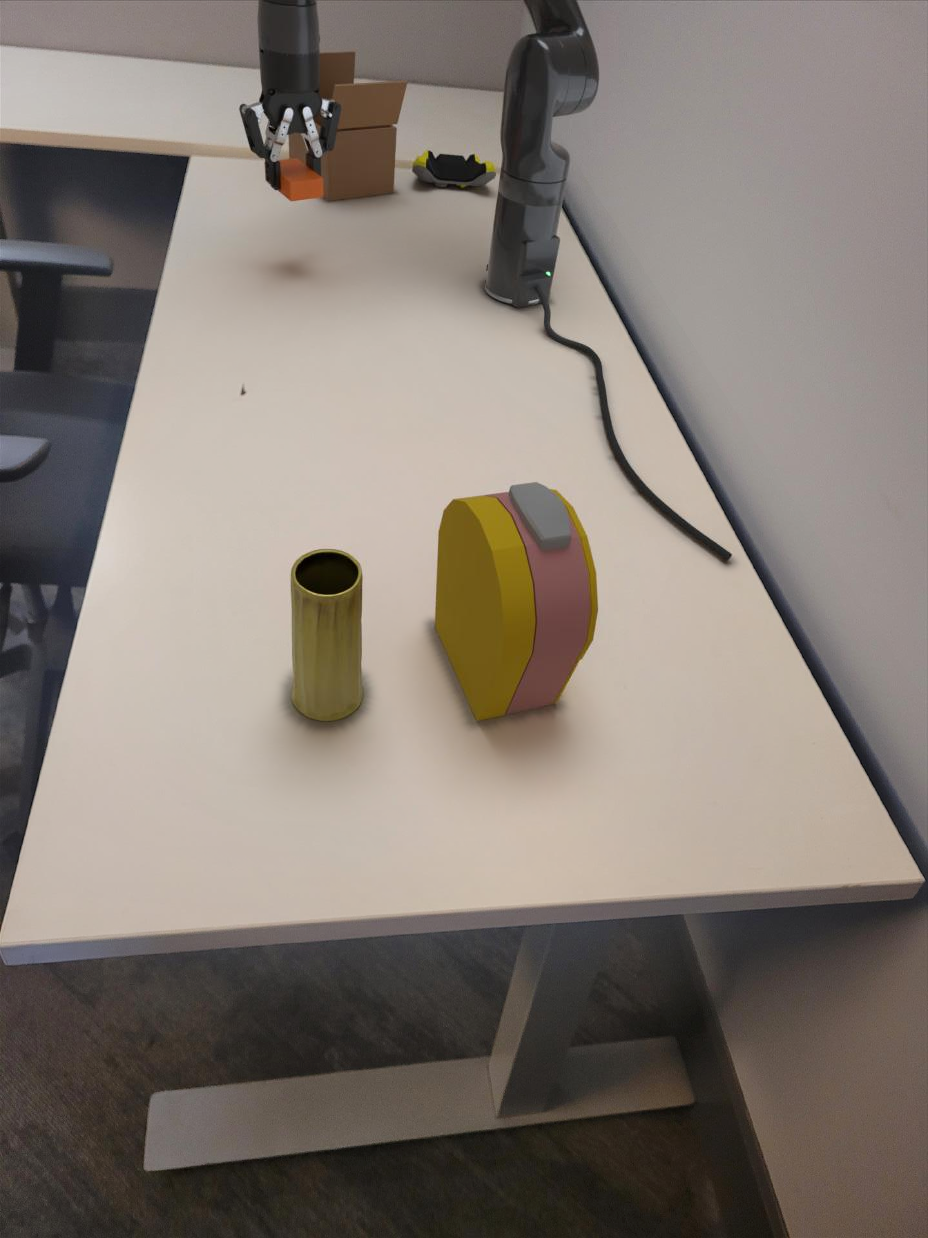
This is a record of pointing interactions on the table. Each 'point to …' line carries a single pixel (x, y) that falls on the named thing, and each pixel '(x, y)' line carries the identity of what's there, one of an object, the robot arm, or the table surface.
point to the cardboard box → (350, 143)
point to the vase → (326, 634)
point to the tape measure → (514, 597)
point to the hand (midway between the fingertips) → (293, 185)
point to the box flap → (369, 103)
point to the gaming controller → (453, 170)
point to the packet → (299, 181)
